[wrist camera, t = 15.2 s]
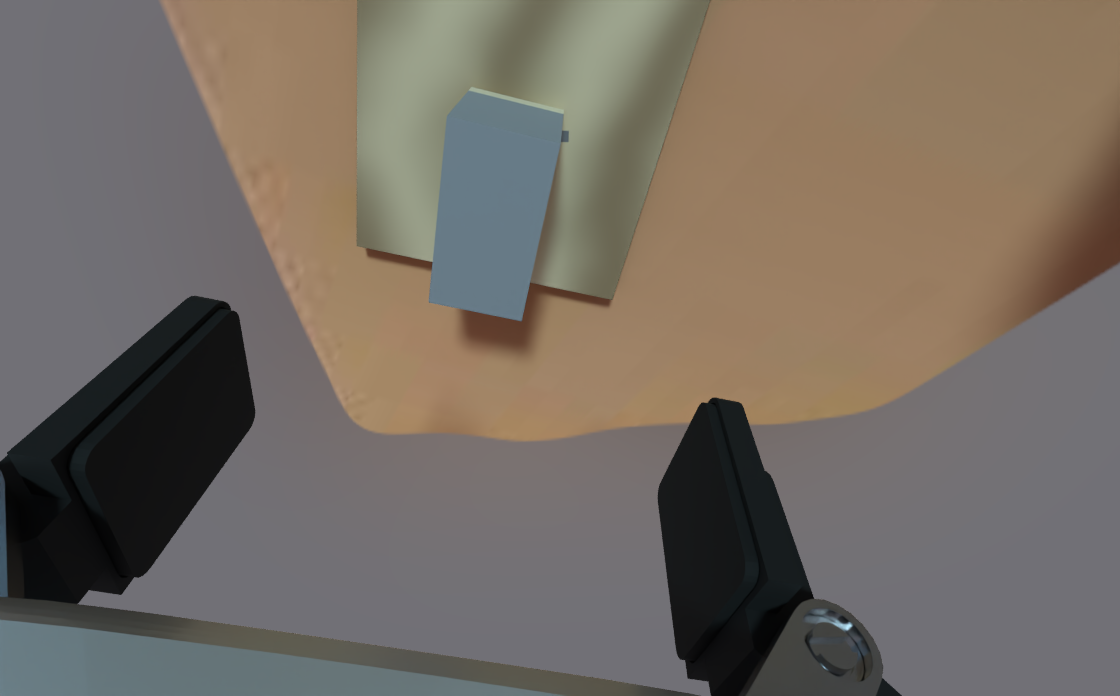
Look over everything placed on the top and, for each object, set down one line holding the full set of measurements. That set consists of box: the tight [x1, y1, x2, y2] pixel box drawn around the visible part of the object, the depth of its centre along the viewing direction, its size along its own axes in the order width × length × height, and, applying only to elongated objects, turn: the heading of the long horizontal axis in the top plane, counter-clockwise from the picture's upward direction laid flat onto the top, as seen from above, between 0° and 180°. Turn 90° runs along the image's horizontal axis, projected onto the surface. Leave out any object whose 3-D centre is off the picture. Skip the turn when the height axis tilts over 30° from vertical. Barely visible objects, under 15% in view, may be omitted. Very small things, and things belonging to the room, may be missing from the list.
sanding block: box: [429, 87, 564, 321], centre depth 24 cm, size 4×8×6 cm, turn 167°
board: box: [357, 0, 710, 300], centre depth 25 cm, size 14×18×1 cm
